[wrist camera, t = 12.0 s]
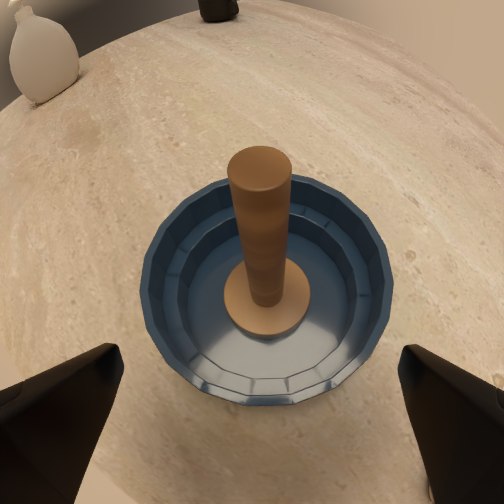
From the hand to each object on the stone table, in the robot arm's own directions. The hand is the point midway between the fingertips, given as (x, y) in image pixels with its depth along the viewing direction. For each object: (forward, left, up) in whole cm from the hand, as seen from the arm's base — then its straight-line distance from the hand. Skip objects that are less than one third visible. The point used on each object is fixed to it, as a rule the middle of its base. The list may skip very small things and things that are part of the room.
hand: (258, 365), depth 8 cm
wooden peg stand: (+5, +3, -12) cm, 13 cm away
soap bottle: (+17, +64, -13) cm, 68 cm away
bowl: (+5, +3, -13) cm, 14 cm away
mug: (+56, +49, -13) cm, 76 cm away
